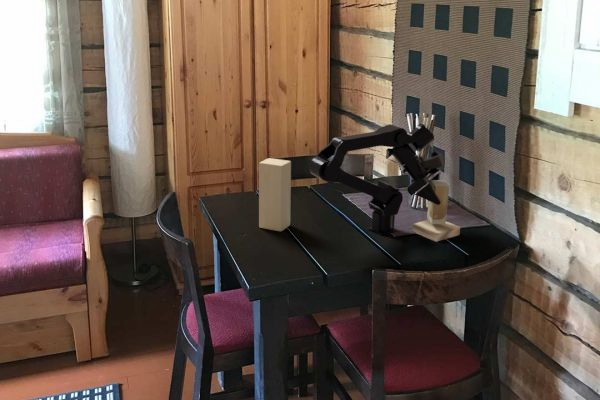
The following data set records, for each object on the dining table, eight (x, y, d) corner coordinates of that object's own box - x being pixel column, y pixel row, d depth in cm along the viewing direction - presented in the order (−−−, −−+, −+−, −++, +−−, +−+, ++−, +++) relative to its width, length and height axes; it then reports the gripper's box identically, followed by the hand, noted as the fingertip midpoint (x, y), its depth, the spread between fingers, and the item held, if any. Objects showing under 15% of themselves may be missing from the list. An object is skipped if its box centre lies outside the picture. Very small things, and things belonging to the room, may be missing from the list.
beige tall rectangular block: (292, 224, 217) (292, 160, 210) (281, 231, 211) (281, 165, 204) (269, 220, 220) (269, 157, 214) (258, 227, 214) (257, 162, 207)
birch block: (436, 243, 204) (436, 233, 203) (412, 232, 212) (413, 223, 211) (459, 236, 209) (460, 226, 208) (435, 226, 217) (436, 217, 216)
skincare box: (426, 217, 212) (429, 179, 208) (440, 217, 212) (443, 179, 209) (431, 224, 206) (435, 185, 202) (446, 224, 206) (449, 185, 202)
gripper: (421, 151, 195) (456, 193, 194) (436, 137, 211) (469, 177, 210) (392, 174, 201) (427, 215, 200) (410, 159, 217) (442, 197, 216)
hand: (442, 200), depth 206 cm, fingers closed on skincare box, 7 cm apart
